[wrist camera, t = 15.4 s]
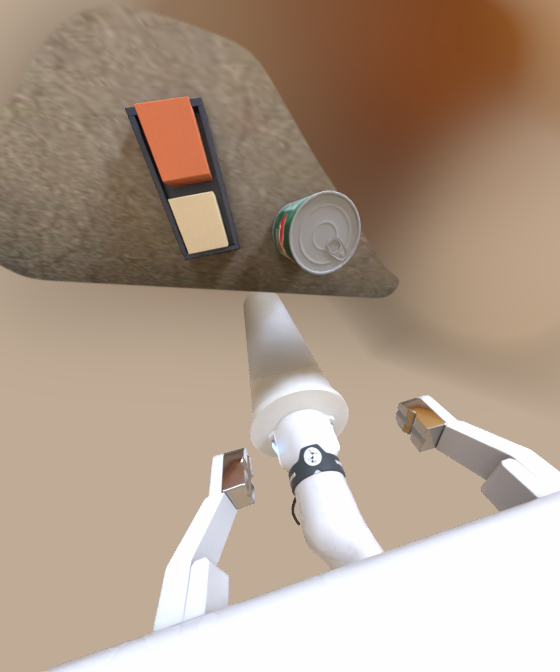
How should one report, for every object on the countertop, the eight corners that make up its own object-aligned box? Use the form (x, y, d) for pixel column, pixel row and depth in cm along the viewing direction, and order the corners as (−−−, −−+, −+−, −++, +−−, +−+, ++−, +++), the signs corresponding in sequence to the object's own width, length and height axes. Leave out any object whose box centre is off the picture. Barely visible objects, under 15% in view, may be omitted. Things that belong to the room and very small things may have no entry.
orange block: (149, 122, 22) (133, 103, 18) (195, 115, 22) (187, 96, 19) (172, 187, 25) (162, 181, 21) (212, 180, 25) (209, 173, 22)
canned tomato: (261, 236, 30) (273, 242, 20) (296, 186, 28) (327, 168, 18) (299, 270, 33) (324, 288, 24) (332, 228, 31) (374, 231, 22)
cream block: (229, 243, 29) (228, 246, 25) (194, 250, 28) (188, 254, 25) (215, 195, 26) (212, 191, 22) (176, 202, 25) (167, 199, 22)
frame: (239, 247, 30) (239, 248, 28) (187, 257, 29) (185, 260, 27) (203, 106, 22) (201, 96, 21) (133, 117, 22) (124, 107, 20)
